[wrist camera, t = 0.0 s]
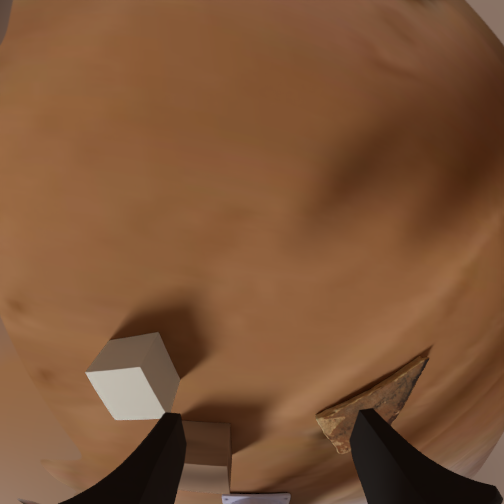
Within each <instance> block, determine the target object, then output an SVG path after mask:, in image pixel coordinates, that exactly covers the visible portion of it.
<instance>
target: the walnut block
mask: <svg viewBox="0 0 504 504" xmlns="http://www.w3.org/2000/svg"><path fill="white" fill-rule="evenodd" d="M182 424H183V429H184V433H185V438H186V442H187V446H186V455H185V462H184V467H183V471H182V475H181V479H180V483H179V487H178V490H184V491H192V492H203V493H216V494H230V482H231V464H232V446H231V430H230V423H213V422H197V421H185V420H182Z"/></svg>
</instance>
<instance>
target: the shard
mask: <svg viewBox="0 0 504 504" xmlns="http://www.w3.org/2000/svg"><path fill="white" fill-rule="evenodd" d="M428 360H429V357H426V358H421V356H418V357H417V358H416V359H414V360H413V361H411V362H410V363H408V364H407V365H405V366H404V367H403V368H401V369H400V370H399V371H397V372H396V373H394V374H393V375H392V376H390V377H389V378H387V379H385V380H384V381H382V382H380V383H379V384H377V385H375V386H374V387H373V388H372V389H370V390H368V391H365V392H363V393H362V394H359V395H358V396H355V397H353V398H352V399H349V400H348V401H345V402H343V403H341V404H339V405H336V406H334V407H332V408H329V409H326V410H324V411H323V412H322V413H319V414H316V415H315V416H316V420H317V422H318V424H319V425H320V426H321V428H322V430H323V432H324V434H325V435H326V436H327V437H328V439H329V440H330V441H332V443H333V444H334V446H335V447H336V449H337V451H338V453H339V454H345V453H347V452H350V451H351V447H350V442H349V439H350V436H351V433H352V430H353V427H354V424H355V421H356V418H357V415H358V412H359V410H362V409H368V408H373V409H374V410H375V411H376V412H377V413H378V414H379V415H380V416H381V417H382V418H383V419H384V420H385V421H386V422H387V423H388V424H389V425H390V426H391V424H392V422H393V421H394V420H395V419H396V417H397V416H398V414H399V413H400V411H401V410H402V408H403V407H404V405H405V403H406V402H407V400H408V398H409V396H410V395H411V393H412V390H413V388H414V387H415V385H416V382H417V380H418V378H419V376H420V375H421V373H422V371H423V370H424V368H425V366H426V364H427V362H428Z"/></svg>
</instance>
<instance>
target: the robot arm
mask: <svg viewBox="0 0 504 504" xmlns="http://www.w3.org/2000/svg"><path fill="white" fill-rule="evenodd" d="M349 442H350V447H351V452H352V457H353V461H354V464H355V467H356V470H357V473H358V476H359V479H360V481H361V484H362V487H363V490H364V493H365V496H366V499H367V502H368V504H501V503H502V501H503V498H502V496H501V495H500V493H499V491H498V489H497V488H496V487H495V486H493V485H489V484H485V483H481V482H477V481H474V480H471V479H469V478H466V477H463V476H461V475H458V474H456V473H454V472H452V471H450V470H448V469H446V468H444V467H442V466H441V465H439V464H437V463H436V462H434V461H432V460H431V459H429V458H428V457H426V456H425V455H423V454H422V453H421V452H419V451H418V450H417V449H416V448H414V447H413V446H412V445H411V444H410V443H408V442H407V441H406V440H405V439H404V438H403V437H402V436H401V435H400V434H398V433H397V432H396V431H395V430H394V429H393V428H392V427H391V426H390V425H389V424H388V423H387V422H386V421H385V420H384V419H383V418H382V417H381V416H380V415H379V414H378V413H377V412H376V411H375V410H374V409H373V408H368V409H362V410H359V412H358V415H357V418H356V421H355V424H354V427H353V430H352V433H351V436H350V439H349ZM186 446H187V442H186V438H185V433H184V429H183V424H182V419H181V414H178V413H169V412H165V413H164V414H163V415H162V417H161V418H160V420H159V421H158V422H157V424H156V425H155V427H154V428H153V429H152V430H151V432H150V433H149V434H148V436H147V437H146V438H145V439H144V440H143V441H142V443H141V444H140V445H139V446H138V447H137V448H136V450H135V451H134V452H133V453H132V454H131V455H130V456H129V457H128V458H127V459H126V460H125V461H124V462H123V463H122V464H121V465H120V466H118V467H117V468H116V469H115V470H114V471H113V472H111V473H110V474H109V475H108V476H106V477H105V478H104V479H102V480H101V481H99V482H98V483H97V484H95V485H94V486H92V487H91V488H89V489H87V490H85V491H84V492H82V493H80V494H78V495H76V496H74V497H73V498H70V499H68V500H66V501H63V502H61V503H59V504H174V502H175V498H176V494H177V490H178V487H179V483H180V479H181V475H182V471H183V467H184V462H185V455H186ZM290 497H291V495H290V494H289V493H279V494H222V501H223V504H289V501H290Z"/></svg>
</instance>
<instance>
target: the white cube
mask: <svg viewBox="0 0 504 504" xmlns="http://www.w3.org/2000/svg"><path fill="white" fill-rule="evenodd" d="M85 373H86V375H87V377H88V378H89V380H90V382H91V383H92V385H93V387H94V388H95V390H96V392H97V393H98V395H99V396H100V398H101V400H102V401H103V403H104V404H105V406H106V407H107V409H108V410H109V412H110V413H111V415H112V416H113V418H114V419H115V420H140V419H160V418H161V417H162V415H163V414H164V413H165V412H169V413H170V412H171V408H172V405H173V402H174V399H175V395H176V392H177V389H178V386H179V382H180V378H179V376H178V374H177V372H176V369H175V367H174V365H173V363H172V361H171V359H170V357H169V354H168V352H167V350H166V348H165V346H164V343H163V341H162V339H161V336H160V334H159V332H155V333H150V334H144V335H138V336H133V337H127V338H121V339H114V340H109V341H108V342H107V344H106V345H105V346H104V348H103V349H102V350H101V352H100V353H99V354H98V356H97V357H96V358H95V360H94V361H93V362H92V364H91V365H90V366H89V368H88V369H87V370H86V372H85Z"/></svg>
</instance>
